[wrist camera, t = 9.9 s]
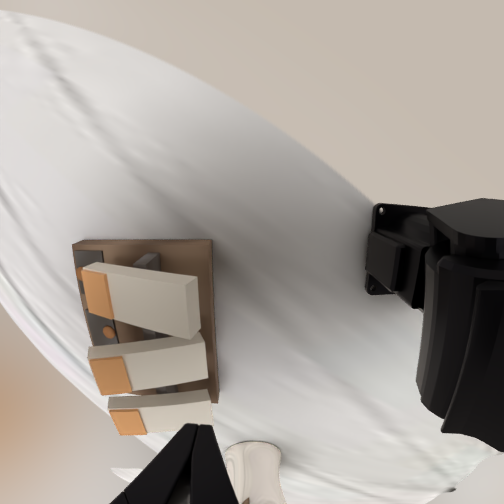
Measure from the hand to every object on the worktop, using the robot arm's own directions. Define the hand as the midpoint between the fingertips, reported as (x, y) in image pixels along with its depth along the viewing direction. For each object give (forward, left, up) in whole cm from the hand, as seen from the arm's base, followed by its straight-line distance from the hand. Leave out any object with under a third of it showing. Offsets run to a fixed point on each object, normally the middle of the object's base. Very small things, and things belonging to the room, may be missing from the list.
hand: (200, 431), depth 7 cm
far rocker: (+4, +8, -7) cm, 11 cm away
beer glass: (-2, +20, -12) cm, 24 cm away
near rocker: (+4, -1, -7) cm, 8 cm away
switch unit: (+6, +3, -12) cm, 14 cm away
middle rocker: (+4, +3, -7) cm, 9 cm away
